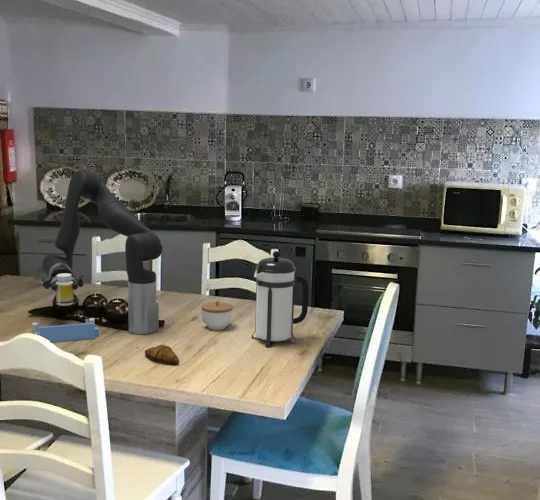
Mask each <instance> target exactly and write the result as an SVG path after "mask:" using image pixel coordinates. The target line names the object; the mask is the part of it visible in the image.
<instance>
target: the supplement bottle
mask: <svg viewBox="0 0 540 500" xmlns="http://www.w3.org/2000/svg"><path fill="white" fill-rule="evenodd" d="M57 280H58V281H57V282H56V291H55V298H56V299H55V300H56V301H55V303H56V305H57V306H63V307H64V306H65V307H66V306H71V305H73V304H74V303H75V301H74V299H75V297H74V296H75V294H74V289H73V281H71V280H72V275H71V274H68V273H63V274H58V275H57Z"/></svg>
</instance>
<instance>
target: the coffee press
mask: <svg viewBox="0 0 540 500" xmlns="http://www.w3.org/2000/svg"><path fill="white" fill-rule="evenodd" d="M280 255H281V253H280V252H279V251H276V250H274V251H273V253H272V256H273V257H267V258H262V259H260V260H259V261H258V262H257V265H256V266H255V271H254V275H253V277H254V278H255V279H256V280H255V283H256V288H255V290H256V291H255V292H256V293H255V294H256V296H255V319H254V320H255V324H254V326H255V327H254V332H253V333H252V335H251V339H253V340H255V339H257V338H259V339H260V340H263V341H265V345H264V346H265V348H271V345H272V343H273V342H281V341H289V343H291V344H296V342H297V339H296V337H295V336H294V325H296V324H299V323H302V322H303V321H304V320H305V319H306V317H307V314H308V310H309V284H308V281H307V280H306V279H305V277H302V276H299V275H296V276H295V272H296V269H297V267H296V266H295V264H294V262H293V261H292V260H290V259H288V258H284V257H280ZM297 282H298V283H300V284H301V287H302V294H301V295H302V297H301V313H300V314H299V316H298V317H295V318H294V312H295V311H294V310H295V309H294V308H295V307H294V306H295V285H296V284H295V283H297ZM254 334H255V335H256V337H255V336H254ZM291 337H292V339H293V340H292V339H291Z"/></svg>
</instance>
